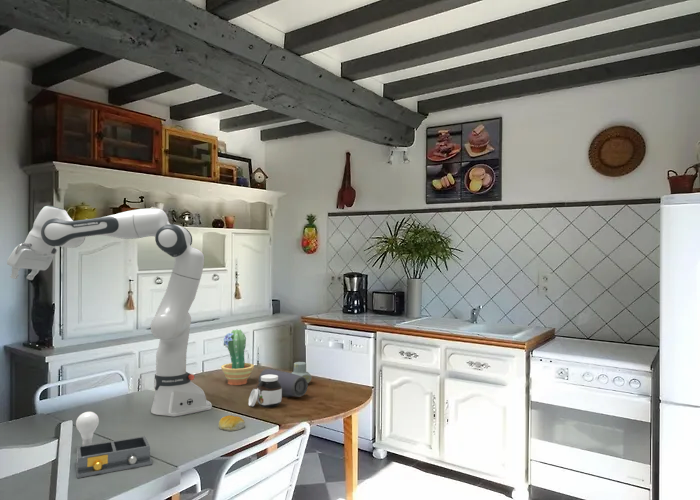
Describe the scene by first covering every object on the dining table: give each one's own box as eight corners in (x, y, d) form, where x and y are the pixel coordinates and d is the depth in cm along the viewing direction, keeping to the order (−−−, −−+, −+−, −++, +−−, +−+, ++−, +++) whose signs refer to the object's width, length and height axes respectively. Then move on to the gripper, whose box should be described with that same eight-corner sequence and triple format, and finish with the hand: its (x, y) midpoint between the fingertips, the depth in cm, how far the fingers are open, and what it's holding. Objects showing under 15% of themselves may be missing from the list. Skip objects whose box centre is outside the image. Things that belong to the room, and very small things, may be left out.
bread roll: (230, 422, 184) (230, 411, 184) (248, 426, 179) (248, 415, 179) (212, 428, 177) (212, 416, 177) (231, 433, 172) (231, 421, 172)
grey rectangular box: (145, 450, 156) (145, 435, 156) (151, 464, 145) (152, 449, 145) (75, 462, 146) (76, 446, 146) (77, 478, 136) (77, 461, 136)
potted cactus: (223, 379, 247) (223, 327, 248) (255, 378, 249) (255, 327, 249) (218, 387, 232) (219, 332, 232) (252, 386, 234) (253, 332, 234)
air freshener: (303, 380, 246) (303, 360, 246) (314, 384, 240) (314, 362, 240) (285, 384, 239) (285, 363, 239) (295, 387, 232) (295, 366, 233)
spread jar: (284, 405, 204) (284, 376, 204) (261, 411, 196) (262, 381, 196) (266, 400, 212) (266, 372, 212) (243, 405, 204) (243, 376, 204)
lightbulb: (88, 452, 154) (89, 415, 154) (70, 450, 155) (71, 414, 155) (103, 444, 160) (103, 409, 160) (85, 443, 161) (85, 408, 161)
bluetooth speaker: (308, 397, 217) (309, 373, 217) (292, 401, 210) (293, 377, 210) (273, 388, 232) (273, 366, 232) (257, 392, 225) (257, 369, 225)
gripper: (28, 245, 182) (10, 281, 181) (60, 251, 203) (44, 283, 201) (12, 238, 183) (-6, 274, 181) (45, 244, 203) (30, 276, 202)
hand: (21, 278), depth 191 cm, fingers open, 8 cm apart
